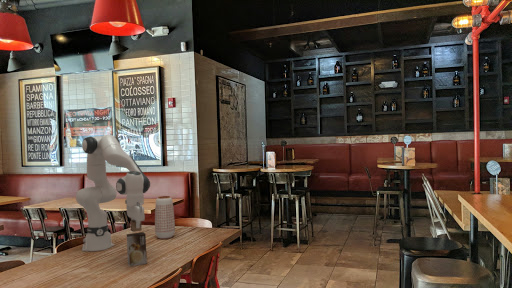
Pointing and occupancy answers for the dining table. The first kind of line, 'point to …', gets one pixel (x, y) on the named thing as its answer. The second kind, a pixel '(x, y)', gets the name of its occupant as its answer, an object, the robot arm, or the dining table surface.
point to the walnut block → (133, 226)
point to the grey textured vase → (164, 217)
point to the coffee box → (136, 249)
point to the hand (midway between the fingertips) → (136, 227)
